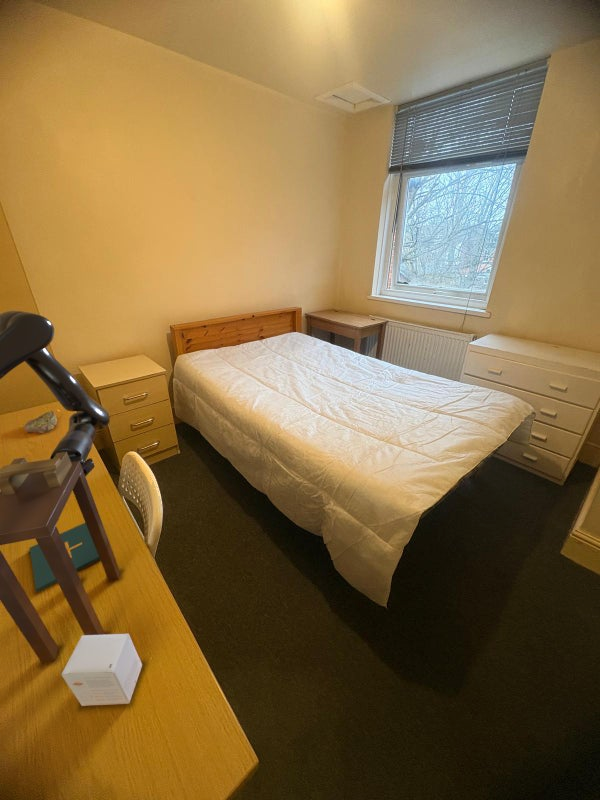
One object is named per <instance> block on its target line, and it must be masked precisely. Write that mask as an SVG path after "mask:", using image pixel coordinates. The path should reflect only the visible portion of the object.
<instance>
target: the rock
mask: <svg viewBox="0 0 600 800" xmlns="http://www.w3.org/2000/svg"><path fill="white" fill-rule="evenodd" d="M57 422H58V418H57V416H56V413H54V411H53V410H49V411H47V412H44V413H43V414H41V415H39V416H38V417H35V418H34V419H31V420H29V421H27V422H26V423H25V425H24V427H23V428H24V430H25V431H26V432H27V433H39V434H46V433H48V432H50V431H53V429H54V428H55V427H56V426H57Z"/></svg>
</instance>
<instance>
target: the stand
mask: <svg viewBox="0 0 600 800" xmlns="http://www.w3.org/2000/svg"><path fill="white" fill-rule="evenodd" d="M72 493H73V495H74V497H75V500H76V502H77V506H78V508H79V510H80V512H81V515H82V518H83V520H84V523H86V525H87V528H88V530H89V533H90V535H91V538H92V540H93V543H94V545H95V548H96V550H97V553H98V555H99V558H100V560H99V561H100V563H101V565H102V568H103V570H104V573H105V576H106V578H107V580H108V582H114V581H117V580H119V579H120V576H121V575H120V574H121V571H120V568H119V564H118V563H117V559H116V556H115V554H114V551H113V548H112V546H111V542H110V540H109V537H108V534H107V532H106V529H105V527H104V524H103V521H102V518H101V515H100V513H99V510H98V507H97V504H96V502H95V499H94V496H93V493H92V491H91V488H90V486H89V483H88V480H87V476H86V477H85V474H84V472H83V469H82V466H81V463H80V461H76V462H71V461H70V459H69V456H68V454H67V452H61V453H57V454H56V455H55V457H54V458H53V459H50V458H49V459H48V458H47V459H43V460H42V459H41V460H34V461H27V459H26V457H19V458H14V459H13V460H12V461H11V462H10V463H9V464H6V465H3V466H2V467H1V468H0V546H5V545H9V544H14V543H19V542H24V541H29V540H35V541H36V543H37V544H38V545H39V547H40V549H41V551H42V553H43V555H44V557H45V559H46V561H47V563H48V565H49V567H50V568H51V570H52V572H53V574H54V576H55V578H56V580H57V582H56V583H57V584H58V587H59V588H60V590H61V592H62V594H63V596H64V598H65V600H66V602H67V604H68V606H69V607H70V610H71V612H72V614H73V616H74V617H75V620H76V621H77V623H78V626H79V627H80V629H81V631H82V633H83V635H104V634H106V633H105V630H104V628H103V626H102V624H101V621H100V619H99V617H98V615H97V613H96V611H95V608H94V606H93V604H92V602H91V599H90V598H89V596H88V593H87V591H86V589H85V586H84V584H83V581H82V580H81V577H80V575H79V573H78V571H76V568H75V566H74V564H73V562H72V560H71V557H70V555H69V553H68V551H67V549H66V547H65V544H64V542H63V540H62V538H61V536H60V534H61V533H60V532H59V528H58V527H57V523H58V522H59V519H60V517H61V515H62V513H63V511H64V509H65V507H66V505H67V502H68V501H69V499H70V497H71V494H72ZM0 602H1V604H2V606H3V607H4V608H5V610H6V611H7V613H8V614H9V616H10V617H11V619H12V620H13V622H14V623H15V626H17V628H18V629H19V631H20V633H21V634H22V635H23V637H24V639H25V640H26V641H27V643H28V645H29V646H30V648H31V649H32V650H33V652H34V653H35V655H36V657H37V658H38V659H39V661H40V662H41V664H42V665H45V664H48V663H51V662H55V661H56V659H57V656H58V653H59V650H60V648H59V646H58V645H57V643H56V642H55V640H54V638H53V636H52V635H51V633H50V631H49V630H48V628H47V626H46V625H45V623H44V621H43V620H42V618H41V616H40V614H39V613H38V611H37V609H36V608H35V606H34V605H33V602H32V601H31V599H30V597H29V596H28V594H27V593H26V591H25V589H24V588H23V586H22V584H21V583H20V581H19V579H18V578H17V576H16V575H15V573H14V570H13V569H12V567H11V566H10V564H9V562H8V561H7V558H5V556H4V554H3V552H2V551H1V550H0Z"/></svg>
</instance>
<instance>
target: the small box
mask: <svg viewBox="0 0 600 800" xmlns="http://www.w3.org/2000/svg"><path fill="white" fill-rule="evenodd" d="M142 667H143V663H142V661H141V658H140V657H139V654H138V651H137V648H136V647H135V645H134V642H133V640H132V638H131V636H130V634H129V633H127V632H126V633H105V634H104V635H84V634H82V635H81V636H80V638H79V640H78V641H77V644H76V646H75V647H74V649H73V652H72V653H71V655H70V657H69V659H68V661H67V663H66V664H65V667H63V670H62V672H61V673H60V674H61V677H62V678H63V680H64V682H65V683H66V684H67V686H68V688H69V689H70V691H71V692H72V693H73V695H74V697H75V698H76V699H77V702H79V704H80V706H82V707H86V706H106V705H128V704H130V702H131V700H132V697H133V694H134V691H135V688H136V685H137V682H138V679H139V677H140V673H141V672H142V671H141V670H142Z"/></svg>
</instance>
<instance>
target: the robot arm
mask: <svg viewBox="0 0 600 800" xmlns="http://www.w3.org/2000/svg"><path fill="white" fill-rule="evenodd" d="M54 338H55V326H54V325H53V322H52V321H50V320H49V319H48V318H47V317H46V316H43V315H41V314H39V313H36V312H35V313H34V312H31V311H21V310H7V311H3V312H1V313H0V380H2V379H3V378H4V377H5V376H6V375H8V374H9V373H10V372H11V371H13V370H14V369H16V368H17V367H18V366H19V365H21V364H23V363H24V362H25V363H26V365H28V366H29V367H30V368H31V369H32V371H33V372H34V373H35V374H36V375H37V376H38V378H40V380H41V381H42V382H43V383H44V385H45V386H46V387H47V389H48V390H49V391H50V392H51V393H52V395H53V396H54V397H55V399H56V400H57V401H58V402H59V404H60V405H61V406H62V407H63V409H64V410H65V411H68V412H74V413H73V414H71V415H70V416H69V418H68V430H67V431H66V433H65V435H64V436H63V437H62V438H61V439H60V440H59V442H58V443H57V445H56V446H55V448H54V450H53V451H52V453H51V455H50V458H49V459H53V458H54V457H55V455H56V454H57V453H61V452H67V454H68V456H69V459H70V461H71V462H76V461H80V463H81V466H82V469H83V472H84V474H85V477H86V478H87V476H88V475H89V474H90V473H91V472H92V471H93V469H94V468H96V465H95V462H94V461H93V458H91V457H89V458H88V456H89V455H90V452H91V450H92V446H93V445H94V444H93V443H94V442H95V440H96V437H97V433H98V432H97V431H99V430H102V429H104V428H105V429H106V428H107V427H108V426H109V425H110V422H111V417H110V414H109V412H108V411H107V409H105V407H103V406H102V405H101V404H100V403H98V402H97V401H96V400H94V399H93V398H92V397H91V396H90V395H89V394H88V393H87V391H86V390H85V389H84V387H83V386H82V384H81V383H80V381H79V380H78V379H77V378H76V376H74V375H73V374H72V373H71V372H70V370H69V369H67V368H66V367H65V366H64V365H63V364H62V362H60V361H59V360H58V359H57V358H56V357H55V356H54V355H53V354H52V353H51V352H50V350H49V349H48V346H49V345H50V344H51V343H52V341H53V339H54Z"/></svg>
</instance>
